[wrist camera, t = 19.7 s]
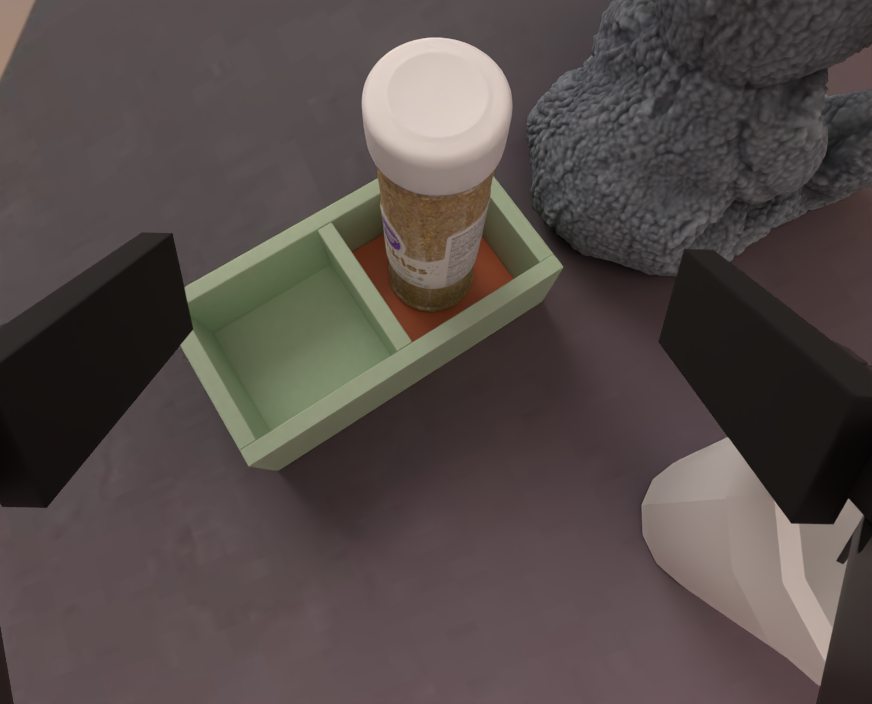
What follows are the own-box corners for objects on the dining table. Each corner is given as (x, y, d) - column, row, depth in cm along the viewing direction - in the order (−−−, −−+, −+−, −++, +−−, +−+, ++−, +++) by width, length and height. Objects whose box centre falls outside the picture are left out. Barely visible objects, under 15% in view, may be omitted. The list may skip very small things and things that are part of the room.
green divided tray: (197, 332, 29) (155, 302, 24) (454, 183, 31) (459, 131, 27) (277, 471, 27) (248, 467, 22) (543, 301, 29) (564, 267, 25)
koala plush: (870, 184, 32) (1527, -273, 13) (648, 366, 29) (1083, 118, 10) (664, -6, 35) (946, -593, 16) (446, 139, 32) (476, -377, 13)
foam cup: (809, 634, 25) (1185, 770, 13) (613, 623, 25) (799, 750, 13) (787, 432, 28) (1085, 380, 15) (608, 421, 28) (760, 361, 15)
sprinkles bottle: (371, 273, 29) (326, 90, 16) (432, 220, 30) (438, 4, 17) (431, 332, 28) (436, 191, 15) (492, 276, 29) (547, 95, 16)
